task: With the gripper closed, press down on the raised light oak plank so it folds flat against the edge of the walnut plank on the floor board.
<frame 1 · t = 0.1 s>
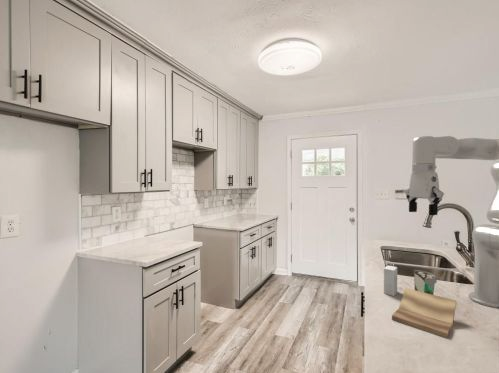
hand: (422, 213, 106), 37 cm above the countertop, tool pointing down, fingers open, 9 cm apart
skincare box: (390, 295, 119), on the countertop
floor board: (424, 320, 97), on the countertop
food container: (426, 298, 117), on the countertop
oak plank: (427, 305, 99), point 4 cm above the countertop, hinge at 35.0°
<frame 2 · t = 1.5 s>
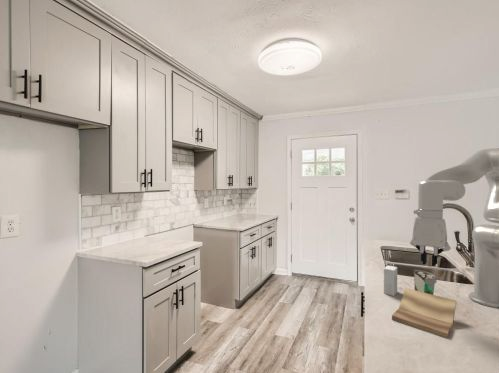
hand: (429, 264, 101), 19 cm above the countertop, tool pointing down, fingers closed
nothing on the countertop moved.
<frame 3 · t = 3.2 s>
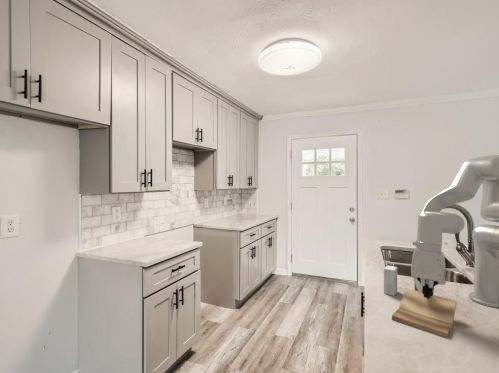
hand: (427, 296, 101), 7 cm above the countertop, tool pointing down, fingers closed
oak plank: (427, 305, 100), point 4 cm above the countertop, hinge at 34.1°, touching gripper
everything else where it was.
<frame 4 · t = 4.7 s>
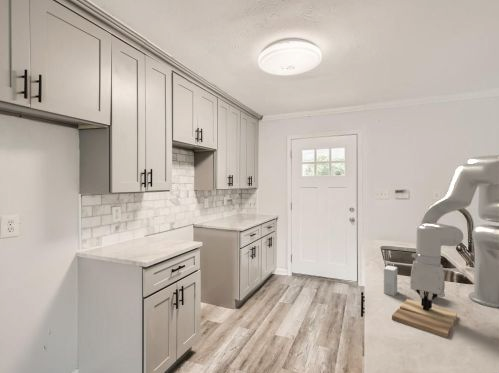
hand: (426, 308, 101), 3 cm above the countertop, tool pointing down, fingers closed
oak plank: (427, 311, 100), point 2 cm above the countertop, hinge at -0.6°, touching floor board, gripper
everything else where it was.
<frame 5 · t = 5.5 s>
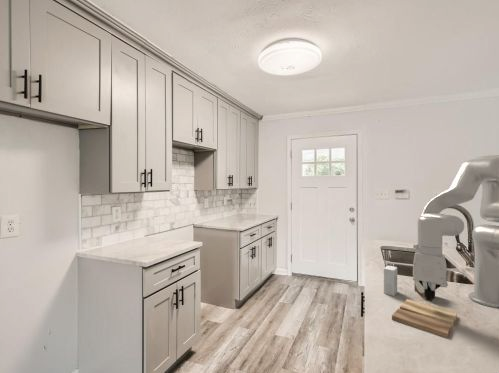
hand: (429, 299, 101), 6 cm above the countertop, tool pointing down, fingers closed
oak plank: (427, 311, 100), point 2 cm above the countertop, hinge at -0.6°, touching floor board
everything else where it was.
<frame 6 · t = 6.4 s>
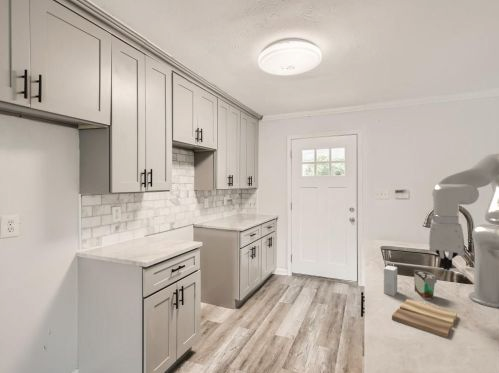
hand: (446, 268, 102), 17 cm above the countertop, tool pointing down, fingers closed
nothing on the countertop moved.
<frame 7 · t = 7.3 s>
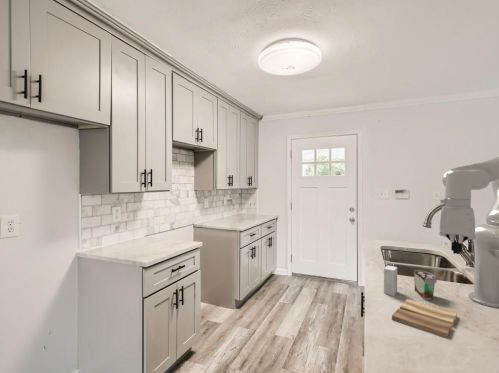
hand: (456, 253, 101), 23 cm above the countertop, tool pointing down, fingers closed
nothing on the countertop moved.
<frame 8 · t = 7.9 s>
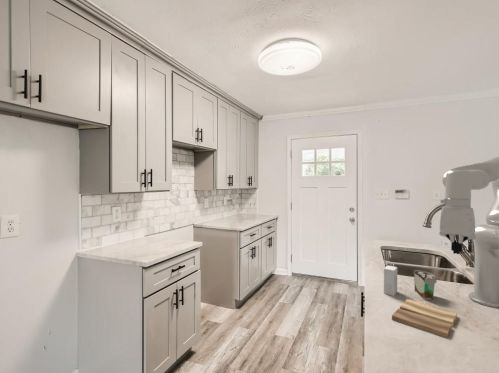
hand: (456, 253, 101), 23 cm above the countertop, tool pointing down, fingers closed
nothing on the countertop moved.
at the end: oak plank at -1° (first picture: +35°); the gripper is holding nothing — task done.
